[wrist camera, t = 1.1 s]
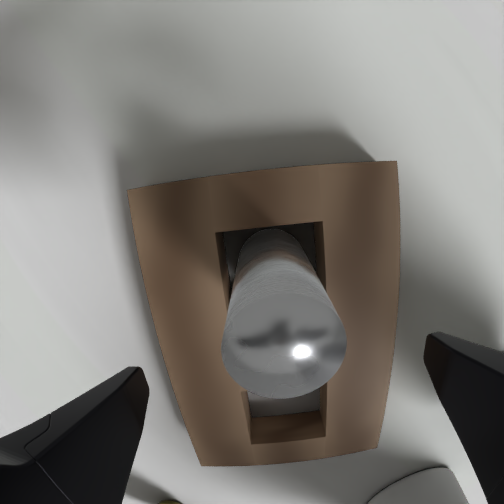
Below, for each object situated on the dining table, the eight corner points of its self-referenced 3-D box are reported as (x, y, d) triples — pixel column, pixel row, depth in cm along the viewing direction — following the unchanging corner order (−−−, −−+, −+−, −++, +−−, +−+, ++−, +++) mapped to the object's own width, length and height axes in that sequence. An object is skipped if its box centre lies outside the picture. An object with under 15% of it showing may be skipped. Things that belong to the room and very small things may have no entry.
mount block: (376, 161, 18) (396, 160, 15) (367, 423, 23) (376, 447, 20) (146, 186, 18) (127, 190, 15) (205, 440, 23) (201, 466, 21)
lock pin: (301, 225, 19) (347, 285, 9) (306, 288, 20) (344, 390, 10) (234, 232, 19) (211, 300, 9) (242, 295, 20) (231, 402, 10)
